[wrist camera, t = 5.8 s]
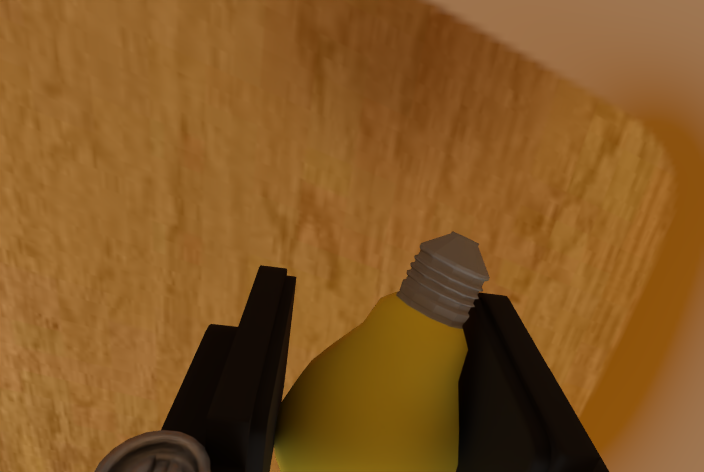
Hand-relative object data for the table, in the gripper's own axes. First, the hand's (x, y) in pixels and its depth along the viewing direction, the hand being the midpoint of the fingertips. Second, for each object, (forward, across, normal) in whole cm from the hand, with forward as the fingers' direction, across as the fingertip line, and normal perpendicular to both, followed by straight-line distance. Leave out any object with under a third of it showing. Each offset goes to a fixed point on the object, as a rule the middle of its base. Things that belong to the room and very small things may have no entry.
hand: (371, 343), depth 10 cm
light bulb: (+1, 0, 0) cm, 1 cm away
